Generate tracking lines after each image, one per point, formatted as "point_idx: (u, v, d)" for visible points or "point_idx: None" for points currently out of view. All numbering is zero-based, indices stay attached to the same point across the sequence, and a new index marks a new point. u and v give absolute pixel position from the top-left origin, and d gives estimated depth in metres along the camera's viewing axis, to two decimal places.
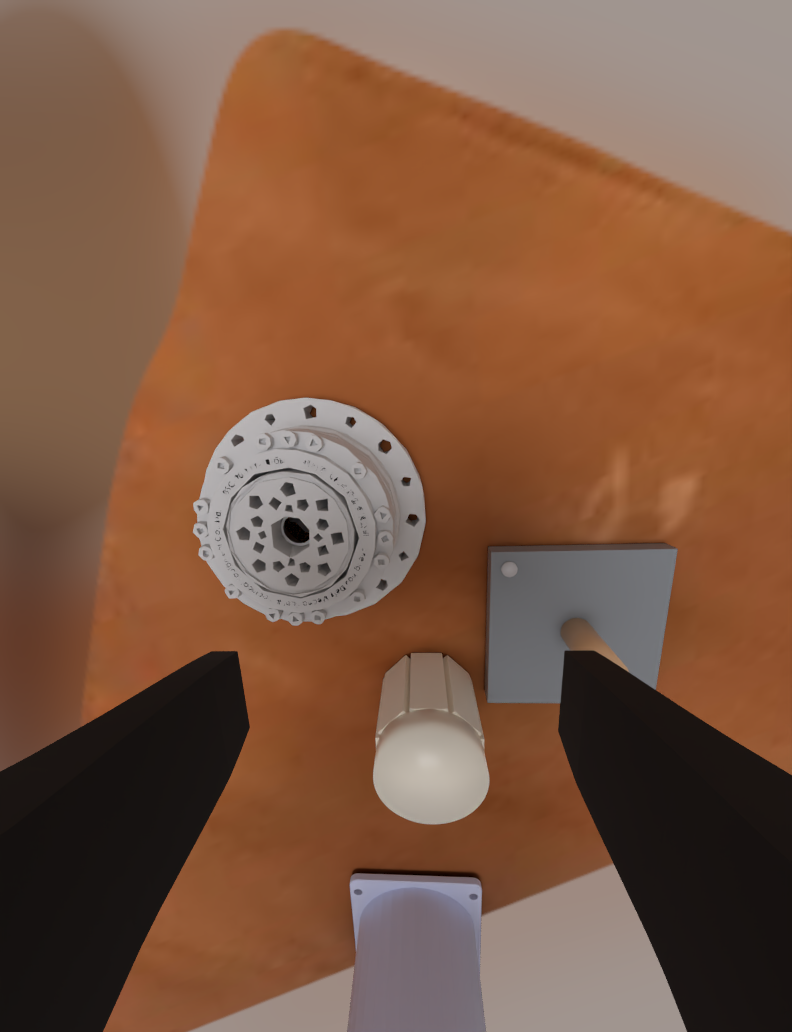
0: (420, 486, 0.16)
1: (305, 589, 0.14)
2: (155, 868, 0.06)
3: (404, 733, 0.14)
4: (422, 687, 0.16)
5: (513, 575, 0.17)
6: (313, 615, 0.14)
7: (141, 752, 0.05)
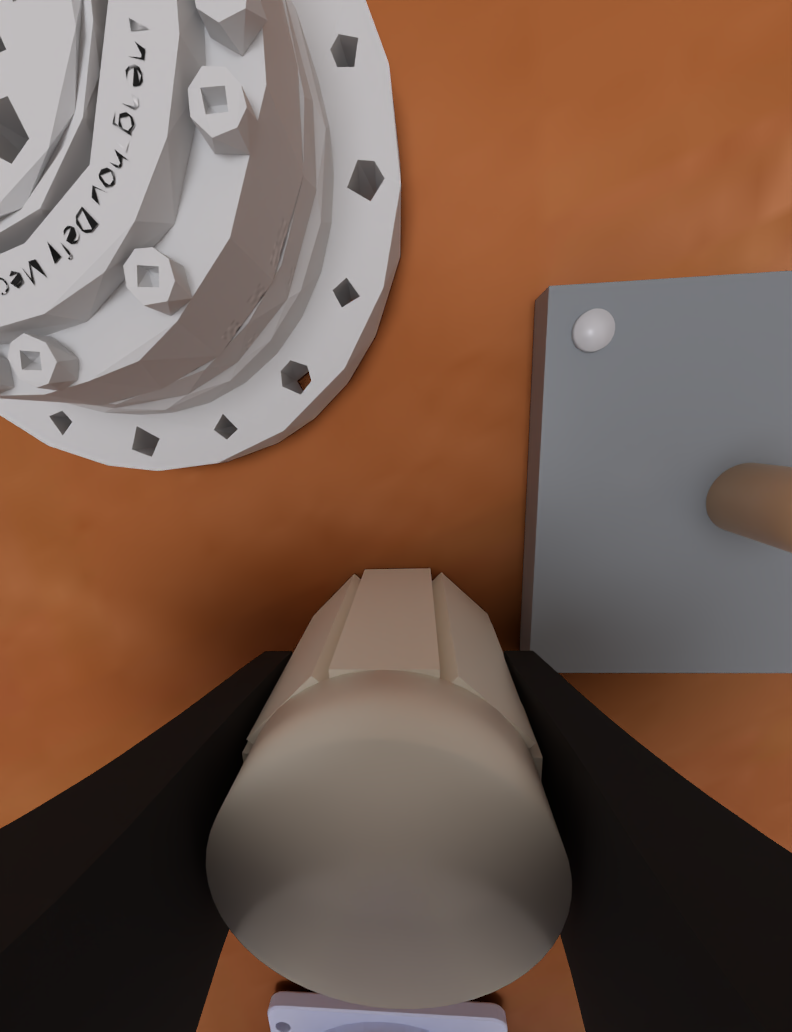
0: (384, 65, 0.06)
1: None
2: None
3: (296, 741, 0.04)
4: (376, 623, 0.06)
5: (602, 347, 0.07)
6: (17, 352, 0.04)
7: (221, 753, 0.05)
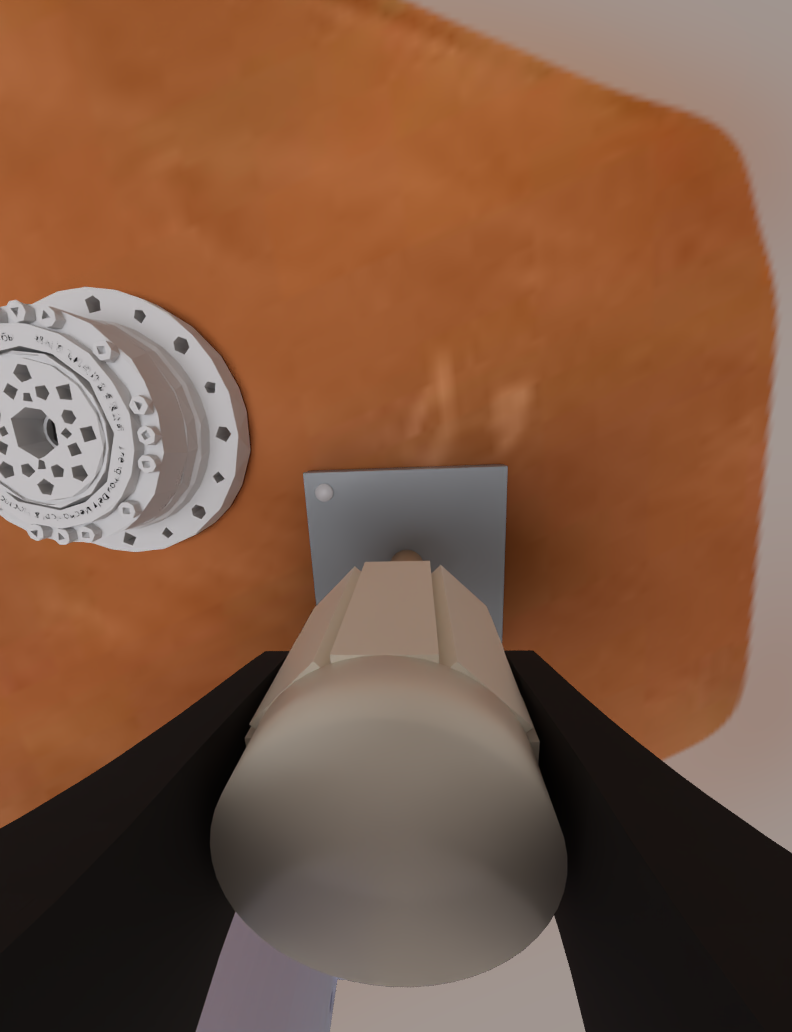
0: (227, 393, 0.14)
1: (64, 499, 0.12)
2: None
3: (298, 721, 0.04)
4: (376, 612, 0.07)
5: (329, 500, 0.15)
6: (81, 531, 0.12)
7: (221, 753, 0.05)
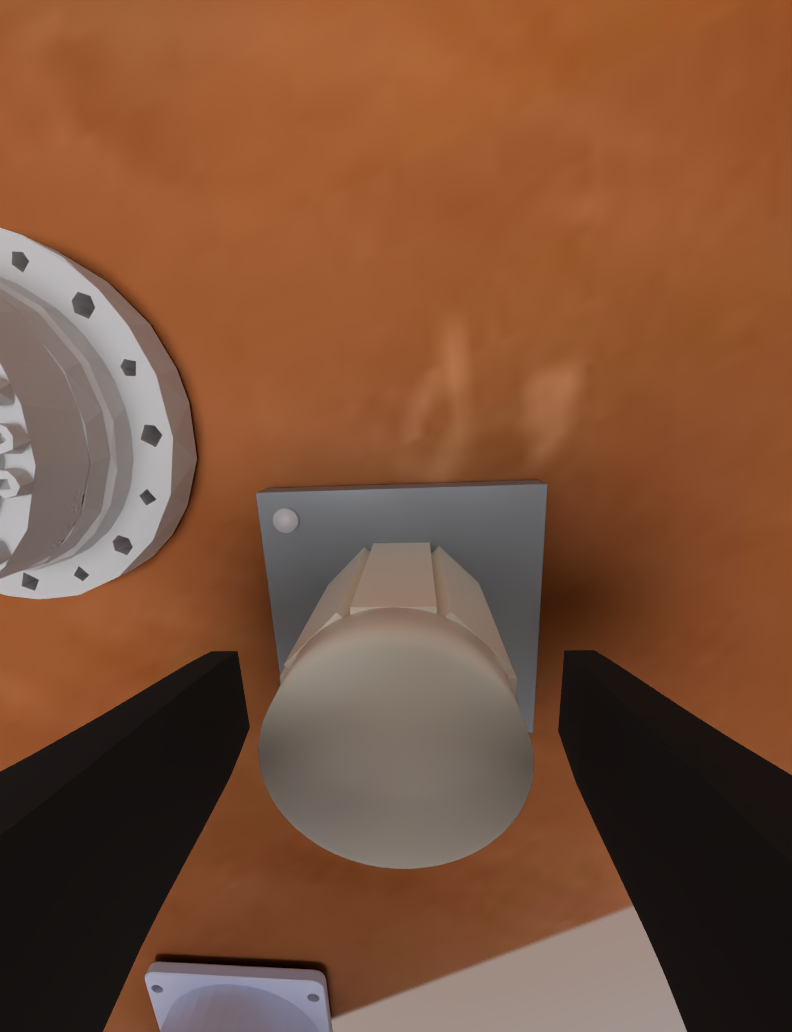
0: (153, 375, 0.09)
1: None
2: (155, 868, 0.06)
3: (330, 650, 0.06)
4: (385, 579, 0.08)
5: (293, 530, 0.10)
6: None
7: (140, 752, 0.05)
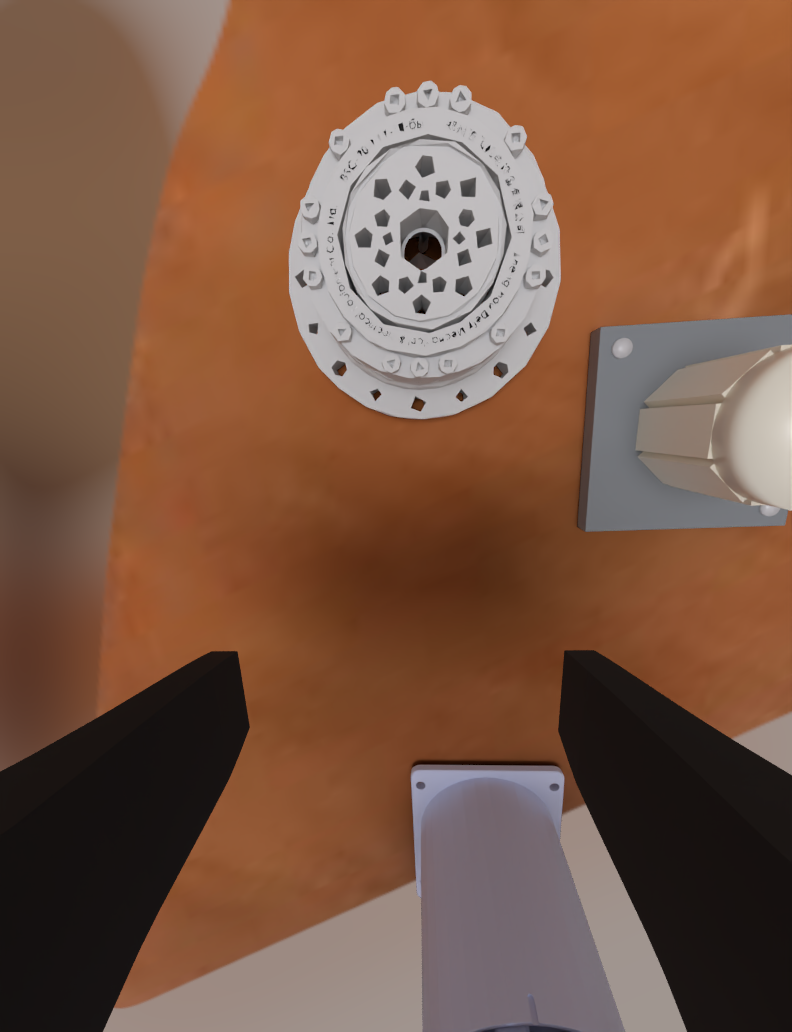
0: (557, 230, 0.13)
1: (436, 319, 0.11)
2: (155, 868, 0.06)
3: None
4: None
5: (626, 356, 0.14)
6: (443, 360, 0.12)
7: (141, 752, 0.05)
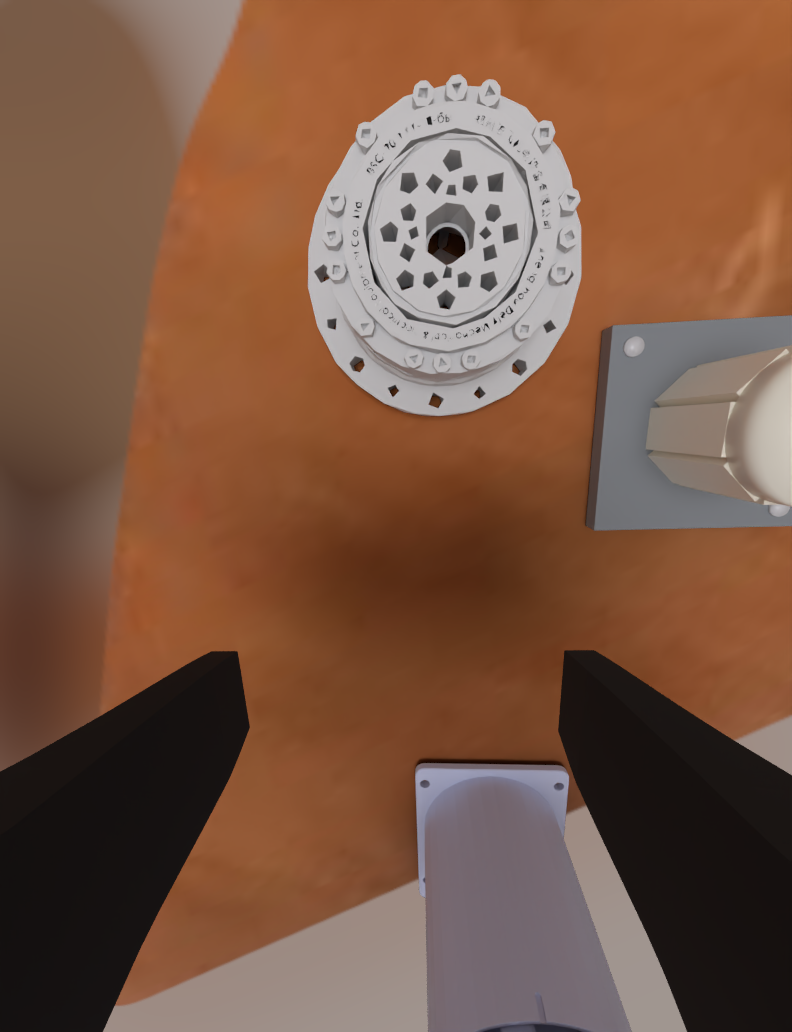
0: (578, 227, 0.13)
1: (460, 315, 0.11)
2: (155, 868, 0.06)
3: None
4: None
5: (638, 355, 0.14)
6: (466, 356, 0.11)
7: (141, 752, 0.05)
